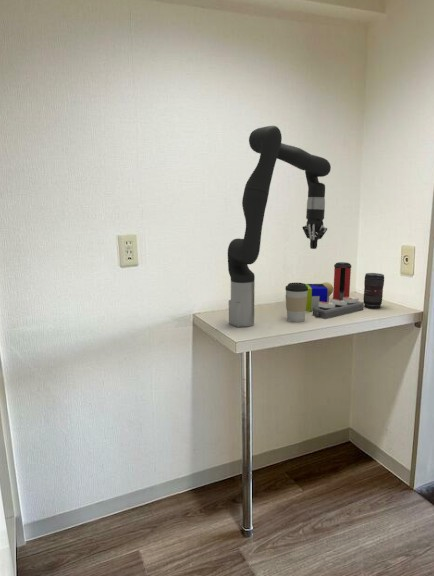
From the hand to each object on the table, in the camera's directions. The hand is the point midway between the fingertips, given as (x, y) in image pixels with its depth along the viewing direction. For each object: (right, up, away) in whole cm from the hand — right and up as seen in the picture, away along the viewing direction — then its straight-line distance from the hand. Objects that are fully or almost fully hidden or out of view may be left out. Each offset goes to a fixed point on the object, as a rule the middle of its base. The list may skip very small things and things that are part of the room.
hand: (313, 248), depth 184 cm
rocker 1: (+4, -25, -8) cm, 26 cm away
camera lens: (+27, -26, +5) cm, 38 cm away
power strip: (+10, -28, -3) cm, 29 cm away
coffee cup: (-10, -30, -12) cm, 34 cm away
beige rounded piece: (+8, -25, +11) cm, 28 cm away
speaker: (+17, -23, +17) cm, 33 cm away
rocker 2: (+10, -24, -4) cm, 26 cm away
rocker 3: (+16, -23, 0) cm, 28 cm away
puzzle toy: (+1, -26, +4) cm, 27 cm away
